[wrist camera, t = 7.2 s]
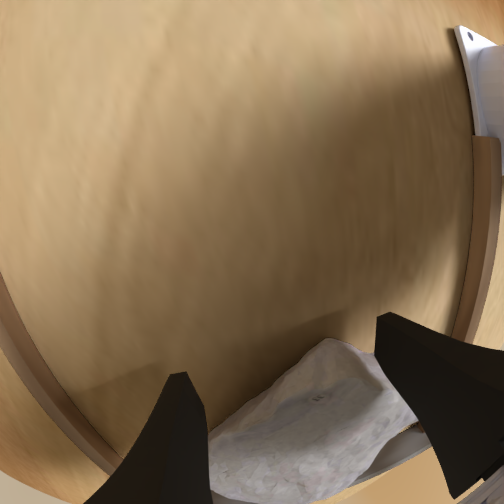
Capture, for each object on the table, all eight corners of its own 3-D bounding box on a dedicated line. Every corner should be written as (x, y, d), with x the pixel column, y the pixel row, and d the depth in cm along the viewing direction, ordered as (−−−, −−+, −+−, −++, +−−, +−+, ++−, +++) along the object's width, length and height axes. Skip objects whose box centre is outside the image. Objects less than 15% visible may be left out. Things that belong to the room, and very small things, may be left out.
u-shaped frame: (483, 136, 10) (520, 141, 7) (423, 425, 18) (436, 443, 15) (-30, 229, 7) (-65, 248, 5) (151, 495, 15) (151, 518, 13)
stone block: (191, 436, 15) (316, 466, 16) (179, 492, 11) (326, 514, 12) (277, 290, 13) (420, 351, 14) (290, 344, 8) (460, 397, 9)
